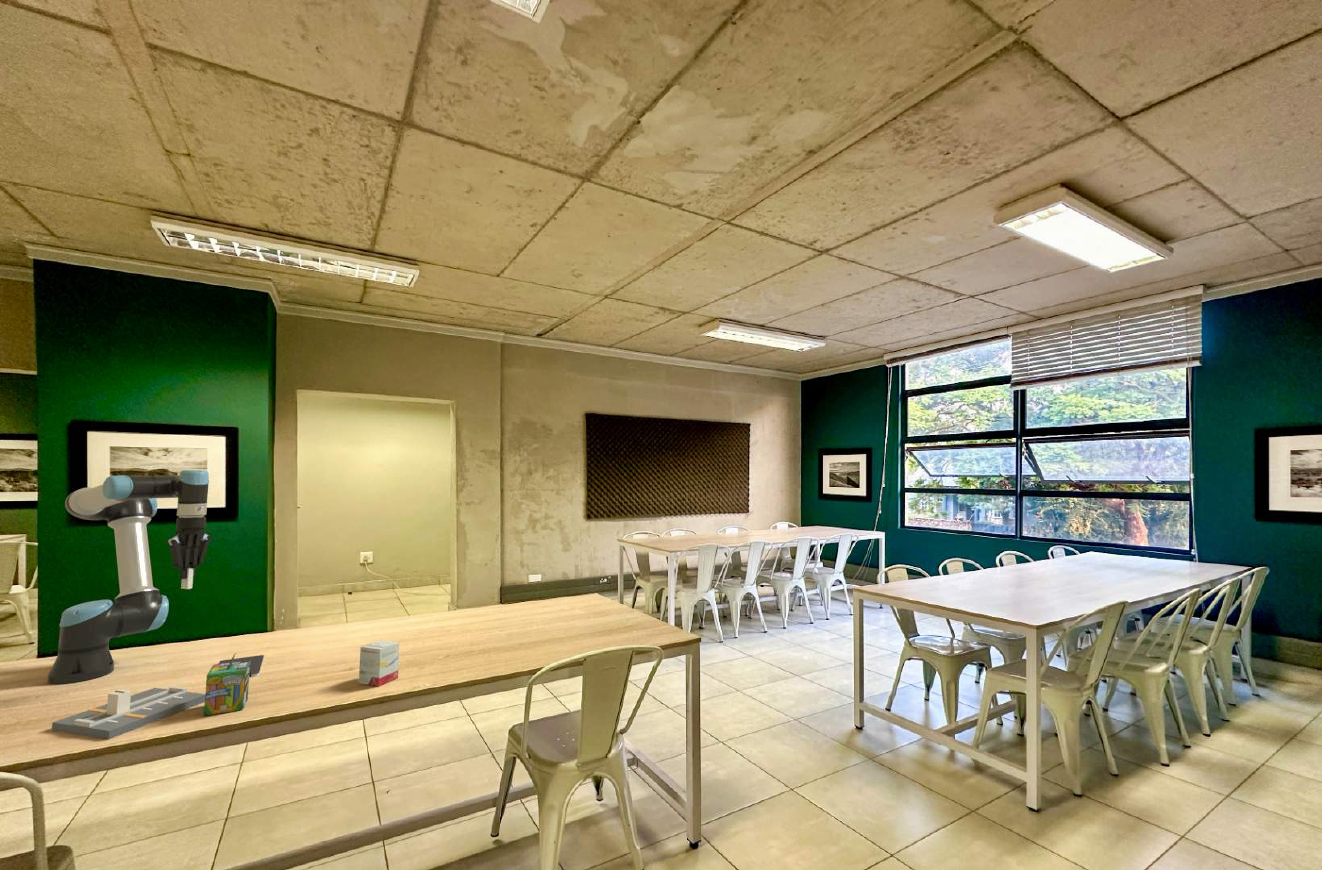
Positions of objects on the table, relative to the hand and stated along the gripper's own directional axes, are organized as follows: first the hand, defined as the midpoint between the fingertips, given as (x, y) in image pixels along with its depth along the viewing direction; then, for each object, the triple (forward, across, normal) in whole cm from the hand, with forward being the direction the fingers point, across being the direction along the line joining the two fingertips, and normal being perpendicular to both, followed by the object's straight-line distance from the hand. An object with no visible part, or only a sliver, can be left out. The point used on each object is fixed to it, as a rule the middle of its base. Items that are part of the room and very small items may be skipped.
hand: (186, 588), depth 181 cm
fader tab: (+27, -27, -15) cm, 41 cm away
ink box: (+30, +15, -62) cm, 71 cm away
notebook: (+30, +12, -9) cm, 34 cm away
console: (+29, -23, -15) cm, 40 cm away
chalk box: (+30, -13, -35) cm, 48 cm away
